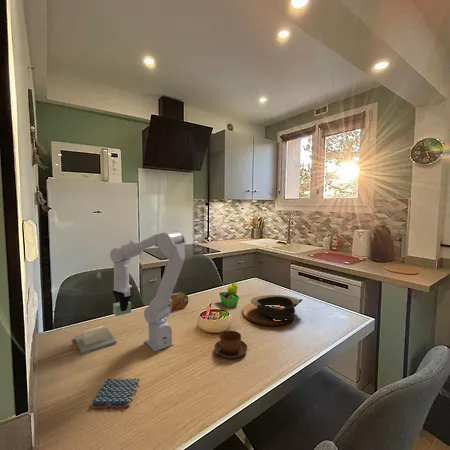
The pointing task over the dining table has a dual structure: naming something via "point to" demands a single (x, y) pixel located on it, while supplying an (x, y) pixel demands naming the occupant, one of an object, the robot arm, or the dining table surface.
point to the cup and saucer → (230, 345)
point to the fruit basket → (230, 296)
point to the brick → (118, 311)
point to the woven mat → (116, 393)
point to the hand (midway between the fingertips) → (122, 308)
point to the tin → (178, 301)
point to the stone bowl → (273, 311)
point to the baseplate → (95, 345)
